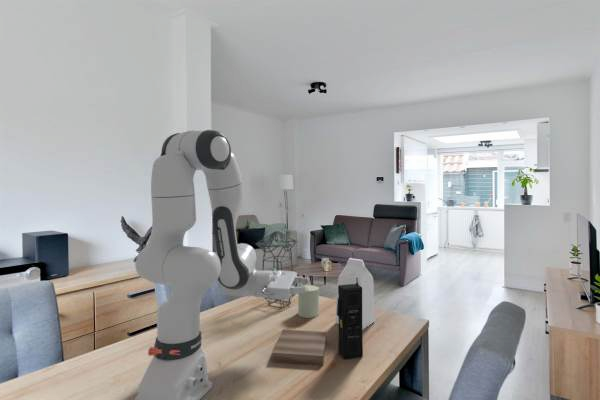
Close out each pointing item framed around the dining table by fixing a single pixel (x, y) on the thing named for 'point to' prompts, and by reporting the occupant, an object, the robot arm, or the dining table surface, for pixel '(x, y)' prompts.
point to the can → (309, 302)
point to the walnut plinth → (300, 347)
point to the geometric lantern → (277, 256)
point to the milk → (365, 280)
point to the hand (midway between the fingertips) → (307, 285)
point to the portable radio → (350, 320)
